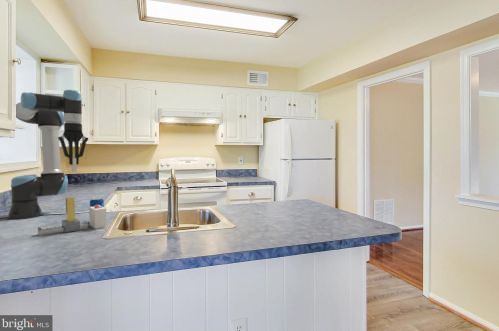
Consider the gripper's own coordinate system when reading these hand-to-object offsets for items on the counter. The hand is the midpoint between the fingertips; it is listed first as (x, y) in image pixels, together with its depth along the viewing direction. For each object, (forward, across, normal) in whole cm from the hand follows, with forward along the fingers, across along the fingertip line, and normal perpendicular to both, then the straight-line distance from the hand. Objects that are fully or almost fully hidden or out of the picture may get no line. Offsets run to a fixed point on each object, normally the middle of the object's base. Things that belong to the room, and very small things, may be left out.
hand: (74, 171), depth 145 cm
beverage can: (+27, +11, +2) cm, 29 cm away
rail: (+27, -7, -9) cm, 29 cm away
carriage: (+27, -4, -9) cm, 28 cm away
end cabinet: (+27, +8, -10) cm, 29 cm away
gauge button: (+24, +8, -9) cm, 27 cm away
